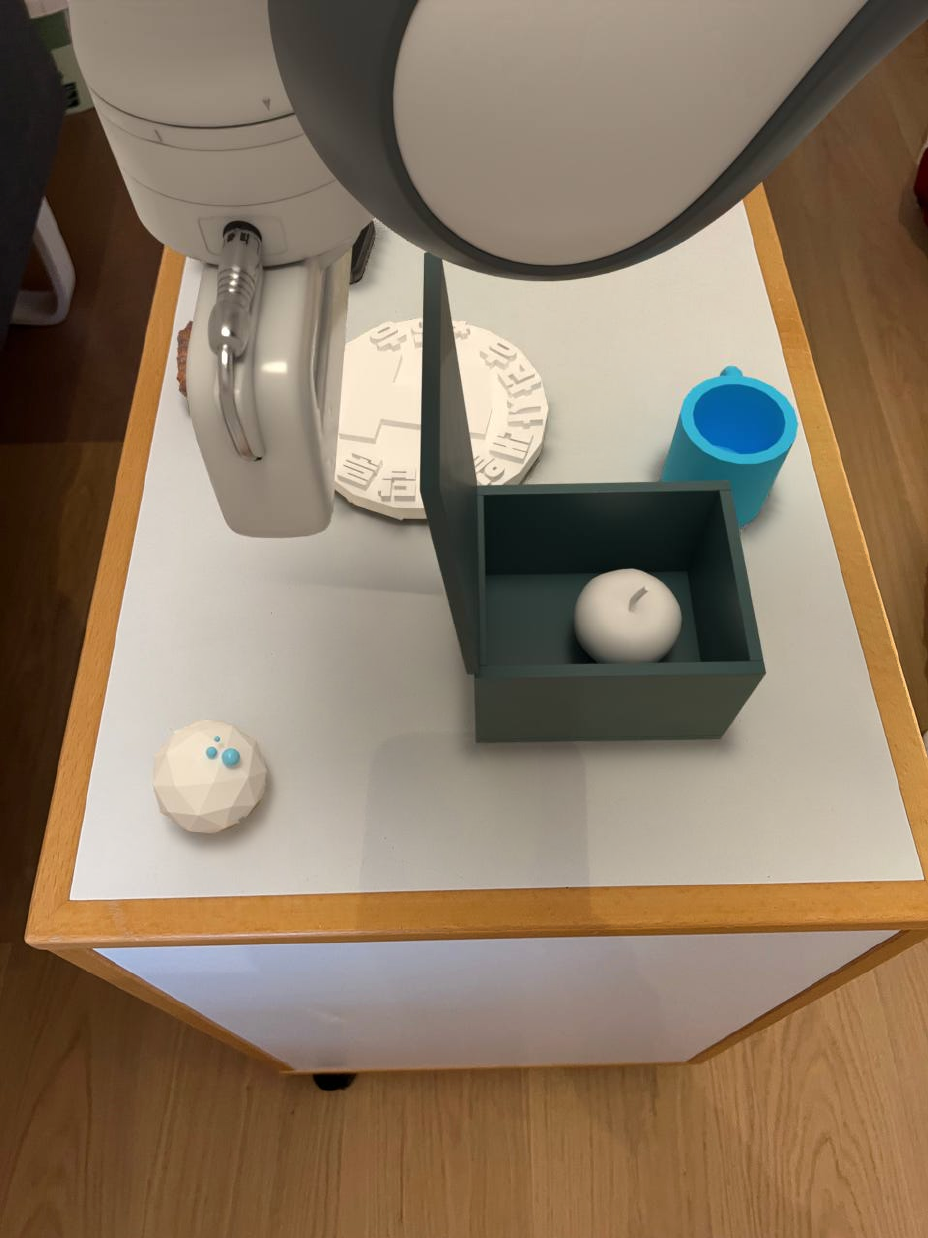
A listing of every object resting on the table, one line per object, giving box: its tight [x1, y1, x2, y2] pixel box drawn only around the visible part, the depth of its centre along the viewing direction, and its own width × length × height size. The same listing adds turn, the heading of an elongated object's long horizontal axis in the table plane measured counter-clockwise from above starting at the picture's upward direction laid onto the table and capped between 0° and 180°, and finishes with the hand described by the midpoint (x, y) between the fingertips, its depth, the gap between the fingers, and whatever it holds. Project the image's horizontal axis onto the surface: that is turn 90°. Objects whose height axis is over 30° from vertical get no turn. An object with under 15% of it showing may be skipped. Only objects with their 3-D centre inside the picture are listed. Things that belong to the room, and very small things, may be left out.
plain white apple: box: [573, 569, 682, 664], centre depth 58 cm, size 7×7×8 cm
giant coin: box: [334, 317, 549, 522], centre depth 71 cm, size 20×20×3 cm
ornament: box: [152, 718, 268, 834], centre depth 54 cm, size 7×7×8 cm
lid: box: [420, 251, 481, 676], centre depth 45 cm, size 18×14×1 cm
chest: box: [473, 480, 767, 744], centre depth 57 cm, size 17×14×11 cm
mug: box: [659, 365, 799, 528], centre depth 66 cm, size 12×8×8 cm
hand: (322, 420), depth 40 cm, fingers open, 8 cm apart
